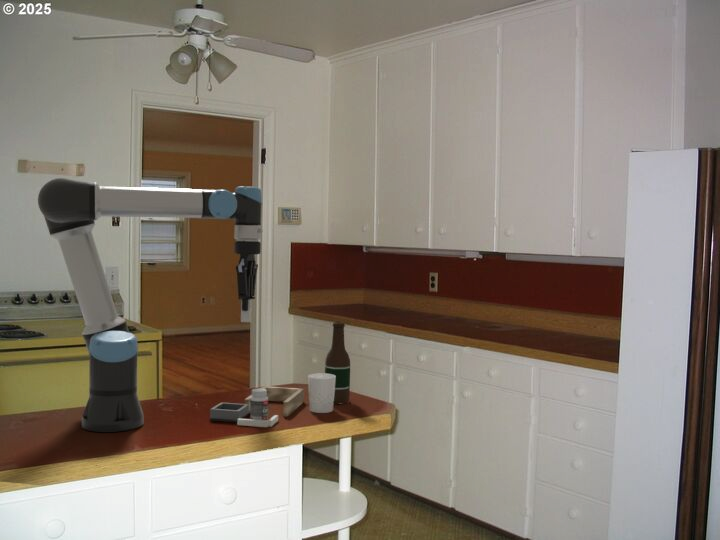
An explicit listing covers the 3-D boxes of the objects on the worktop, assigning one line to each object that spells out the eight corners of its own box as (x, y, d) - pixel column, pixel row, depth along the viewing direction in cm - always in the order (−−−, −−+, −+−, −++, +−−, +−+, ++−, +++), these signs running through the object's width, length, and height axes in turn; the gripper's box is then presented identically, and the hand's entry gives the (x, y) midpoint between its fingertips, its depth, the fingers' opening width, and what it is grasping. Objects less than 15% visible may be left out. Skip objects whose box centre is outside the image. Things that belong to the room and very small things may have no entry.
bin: (210, 420, 195) (210, 409, 194) (220, 413, 202) (221, 402, 202) (238, 422, 193) (238, 411, 193) (248, 415, 201) (248, 404, 201)
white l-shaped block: (237, 425, 191) (237, 419, 191) (246, 418, 197) (246, 412, 197) (270, 427, 189) (270, 421, 189) (278, 420, 196) (278, 415, 196)
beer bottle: (321, 403, 217) (323, 323, 216) (326, 397, 225) (328, 320, 223) (346, 405, 216) (349, 324, 214) (351, 399, 223) (353, 321, 222)
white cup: (340, 409, 210) (341, 375, 209) (324, 415, 203) (325, 379, 203) (318, 405, 214) (318, 372, 214) (301, 410, 208) (302, 376, 207)
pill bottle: (266, 423, 193) (266, 392, 192) (248, 422, 193) (248, 391, 193) (269, 418, 197) (270, 388, 197) (252, 418, 198) (252, 387, 197)
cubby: (244, 413, 203) (244, 399, 202) (263, 399, 220) (264, 386, 220) (287, 416, 201) (287, 402, 200) (303, 402, 218) (303, 388, 218)
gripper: (252, 241, 203) (251, 325, 204) (266, 240, 216) (265, 319, 217) (227, 240, 204) (225, 323, 206) (242, 239, 217) (241, 318, 218)
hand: (246, 321), depth 211 cm, fingers closed
